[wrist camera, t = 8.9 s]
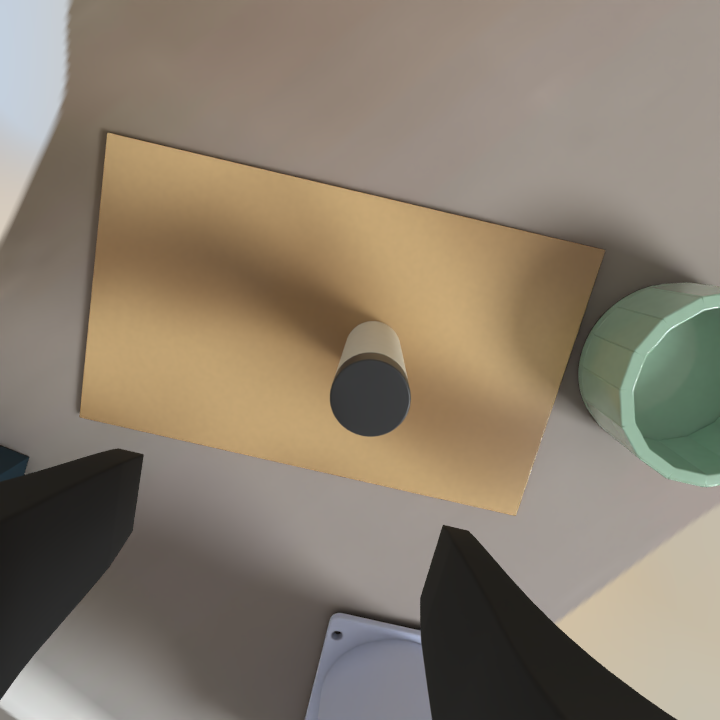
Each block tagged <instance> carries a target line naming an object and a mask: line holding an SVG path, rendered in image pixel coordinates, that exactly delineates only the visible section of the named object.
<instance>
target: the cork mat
mask: <svg viewBox="0 0 720 720" xmlns="http://www.w3.org/2000/svg"><path fill="white" fill-rule="evenodd" d="M604 253H605V250H604V249H599V248H595V247H591V246H587V245H582V244H578V243H574V242H570V241H565V240H561V239H557V238H553V237H548V236H544V235H540V234H536V233H531V232H527V231H523V230H519V229H515V228H510V227H506V226H502V225H498V224H493V223H489V222H485V221H481V220H476V219H472V218H468V217H464V216H459V215H455V214H451V213H447V212H442V211H438V210H434V209H430V208H425V207H421V206H417V205H413V204H409V203H404V202H400V201H396V200H392V199H387V198H383V197H379V196H375V195H370V194H366V193H362V192H358V191H353V190H349V189H345V188H341V187H336V186H332V185H328V184H324V183H319V182H315V181H311V180H307V179H302V178H298V177H294V176H290V175H286V174H281V173H277V172H273V171H269V170H264V169H260V168H256V167H252V166H247V165H243V164H239V163H235V162H230V161H226V160H222V159H218V158H213V157H209V156H205V155H201V154H196V153H192V152H188V151H184V150H180V149H175V148H171V147H167V146H163V145H158V144H154V143H150V142H146V141H141V140H137V139H133V138H129V137H124V136H120V135H116V134H112V133H107V140H106V151H105V161H104V171H103V181H102V191H101V202H100V212H99V222H98V232H97V242H96V253H95V263H94V273H93V283H92V294H91V304H90V314H89V324H88V334H87V345H86V355H85V365H84V375H83V385H82V396H81V406H80V416H79V417H81V418H85V419H90V420H94V421H99V422H103V423H107V424H112V425H116V426H121V427H125V428H129V429H134V430H138V431H143V432H147V433H152V434H156V435H160V436H165V437H169V438H174V439H178V440H183V441H187V442H191V443H196V444H200V445H205V446H209V447H213V448H218V449H222V450H227V451H231V452H236V453H240V454H244V455H249V456H253V457H258V458H262V459H266V460H271V461H275V462H280V463H284V464H289V465H293V466H297V467H302V468H306V469H311V470H315V471H320V472H324V473H328V474H333V475H337V476H342V477H346V478H350V479H355V480H359V481H364V482H368V483H373V484H377V485H381V486H386V487H390V488H395V489H399V490H403V491H408V492H412V493H417V494H421V495H426V496H430V497H434V498H439V499H443V500H448V501H452V502H457V503H461V504H465V505H470V506H474V507H479V508H483V509H487V510H492V511H496V512H501V513H505V514H510V515H514V516H516V514H517V511H518V508H519V505H520V502H521V499H522V496H523V493H524V490H525V487H526V484H527V481H528V478H529V475H530V473H531V470H532V467H533V464H534V461H535V458H536V455H537V452H538V449H539V446H540V443H541V440H542V437H543V434H544V431H545V428H546V425H547V422H548V419H549V416H550V413H551V410H552V407H553V404H554V401H555V398H556V395H557V393H558V390H559V387H560V384H561V381H562V378H563V375H564V372H565V369H566V366H567V363H568V360H569V357H570V354H571V351H572V348H573V345H574V342H575V339H576V336H577V333H578V330H579V327H580V324H581V321H582V318H583V316H584V313H585V310H586V307H587V304H588V301H589V298H590V295H591V292H592V289H593V286H594V283H595V280H596V277H597V274H598V271H599V268H600V265H601V262H602V259H603V256H604ZM368 321H378V322H382V323H384V324H386V325H388V326H390V327H391V328H392V329H393V330H394V331H395V333H396V334H397V336H398V338H399V341H400V345H401V350H402V355H403V359H404V364H405V369H406V373H407V378H408V383H409V388H410V392H411V404H410V408H409V411H408V414H407V416H406V418H405V419H404V420H403V422H402V423H401V424H400V425H399V426H398V427H397V428H396V429H394V430H393V431H391V432H389V433H387V434H384V435H381V436H374V437H366V436H360V435H357V434H354V433H352V432H350V431H349V430H347V429H346V428H344V427H343V426H342V425H341V424H340V423H339V422H338V421H337V419H336V418H335V416H334V414H333V412H332V409H331V406H330V389H331V386H332V383H333V380H334V377H335V374H336V371H337V368H338V365H339V362H340V359H341V356H342V353H343V350H344V347H345V344H346V341H347V338H348V336H349V334H350V332H351V331H352V330H353V329H354V328H355V327H356V326H358V325H360V324H362V323H364V322H368Z"/></svg>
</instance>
